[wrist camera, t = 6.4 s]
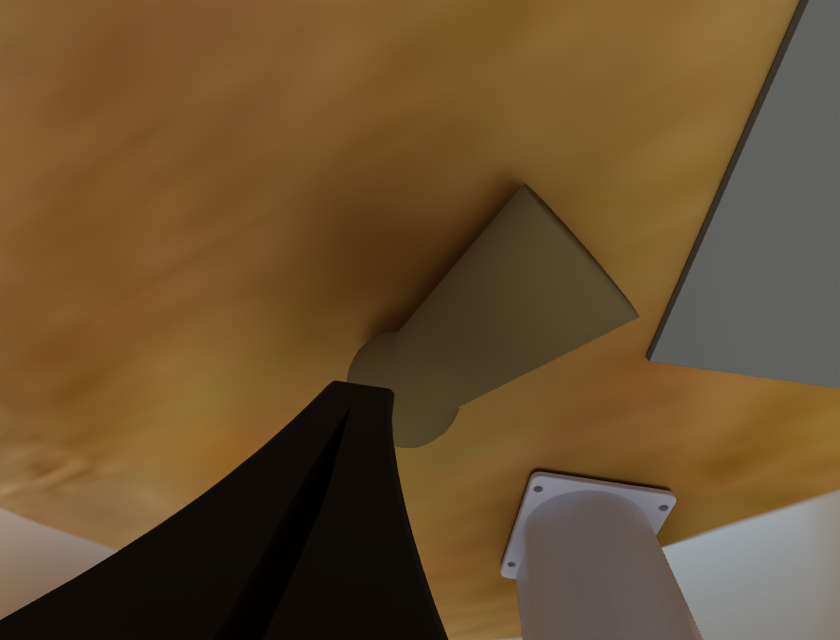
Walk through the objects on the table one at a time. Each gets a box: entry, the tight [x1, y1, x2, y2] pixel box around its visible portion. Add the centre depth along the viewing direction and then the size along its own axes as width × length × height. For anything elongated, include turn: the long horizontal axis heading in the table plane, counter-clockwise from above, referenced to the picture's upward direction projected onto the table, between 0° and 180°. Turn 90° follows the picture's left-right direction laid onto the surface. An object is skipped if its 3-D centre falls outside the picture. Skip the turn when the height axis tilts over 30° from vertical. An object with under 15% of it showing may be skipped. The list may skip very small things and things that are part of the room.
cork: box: [347, 183, 639, 448], centre depth 17 cm, size 6×6×11 cm
